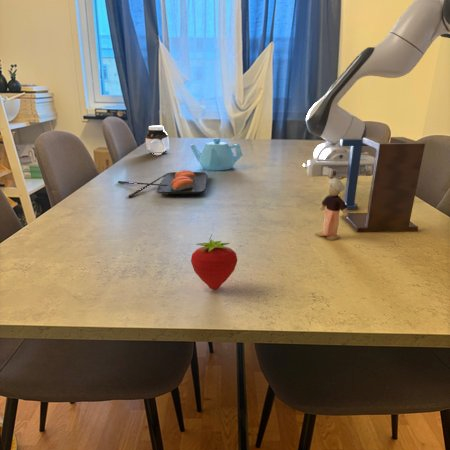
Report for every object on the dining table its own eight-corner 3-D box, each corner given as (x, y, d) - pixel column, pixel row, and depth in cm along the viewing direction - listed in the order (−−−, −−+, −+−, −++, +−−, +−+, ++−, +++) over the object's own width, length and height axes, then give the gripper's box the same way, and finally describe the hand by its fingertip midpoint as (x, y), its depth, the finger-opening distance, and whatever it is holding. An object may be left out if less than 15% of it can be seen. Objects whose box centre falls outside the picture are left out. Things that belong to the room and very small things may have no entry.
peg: (360, 205, 118) (369, 137, 110) (365, 210, 114) (376, 140, 106) (331, 205, 118) (338, 138, 110) (336, 210, 114) (344, 140, 106)
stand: (396, 215, 109) (411, 136, 100) (417, 231, 99) (435, 143, 90) (342, 216, 109) (351, 137, 100) (357, 232, 98) (369, 144, 89)
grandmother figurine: (310, 235, 96) (315, 177, 91) (320, 231, 99) (326, 174, 93) (340, 243, 92) (347, 183, 86) (350, 239, 94) (358, 180, 88)
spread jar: (162, 150, 206) (160, 124, 201) (176, 153, 199) (174, 126, 193) (140, 153, 199) (138, 126, 194) (153, 156, 192) (151, 128, 186)
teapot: (211, 173, 158) (211, 142, 153) (189, 167, 169) (188, 138, 164) (244, 168, 166) (244, 138, 161) (221, 162, 177) (221, 135, 172)
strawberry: (238, 297, 70) (238, 238, 65) (191, 298, 69) (188, 239, 65) (236, 281, 75) (236, 226, 70) (192, 282, 75) (190, 227, 70)
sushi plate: (205, 198, 126) (204, 185, 124) (102, 199, 126) (100, 185, 124) (208, 177, 152) (207, 166, 150) (122, 178, 152) (121, 166, 150)
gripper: (302, 152, 124) (313, 161, 111) (372, 151, 124) (391, 160, 112) (300, 175, 127) (311, 186, 114) (369, 174, 127) (387, 184, 115)
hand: (351, 173), depth 113 cm, fingers open, 8 cm apart
